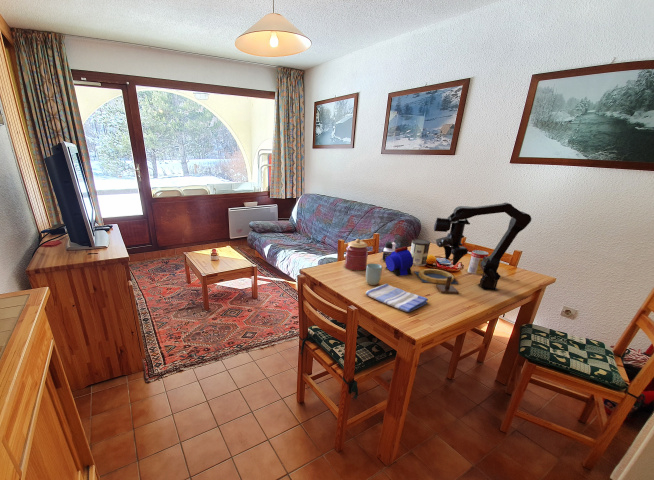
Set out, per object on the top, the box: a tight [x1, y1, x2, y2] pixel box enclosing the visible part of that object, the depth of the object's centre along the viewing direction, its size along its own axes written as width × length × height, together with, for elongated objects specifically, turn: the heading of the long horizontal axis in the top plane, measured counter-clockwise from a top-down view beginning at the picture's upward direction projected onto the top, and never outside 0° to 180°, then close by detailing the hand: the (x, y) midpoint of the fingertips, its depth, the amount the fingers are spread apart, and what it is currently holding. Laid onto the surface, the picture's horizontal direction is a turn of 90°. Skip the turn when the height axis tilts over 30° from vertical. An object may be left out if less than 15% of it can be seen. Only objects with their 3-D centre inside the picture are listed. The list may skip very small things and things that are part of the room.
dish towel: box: [365, 283, 429, 313], centre depth 145 cm, size 17×24×3 cm
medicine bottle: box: [381, 241, 397, 263], centre depth 195 cm, size 7×7×12 cm
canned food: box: [467, 249, 489, 276], centre depth 177 cm, size 8×8×12 cm
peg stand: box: [435, 276, 459, 295], centre depth 154 cm, size 8×8×8 cm
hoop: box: [418, 268, 455, 285], centre depth 170 cm, size 17×17×2 cm
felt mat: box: [413, 271, 459, 285], centre depth 171 cm, size 18×16×1 cm
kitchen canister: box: [344, 238, 369, 271], centre depth 183 cm, size 13×13×18 cm
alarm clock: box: [385, 245, 414, 277], centre depth 176 cm, size 12×12×15 cm
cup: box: [365, 263, 383, 286], centre depth 161 cm, size 8×8×10 cm
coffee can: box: [409, 238, 431, 267], centre depth 190 cm, size 10×10×14 cm
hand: (450, 262), depth 160 cm, fingers open, 9 cm apart
